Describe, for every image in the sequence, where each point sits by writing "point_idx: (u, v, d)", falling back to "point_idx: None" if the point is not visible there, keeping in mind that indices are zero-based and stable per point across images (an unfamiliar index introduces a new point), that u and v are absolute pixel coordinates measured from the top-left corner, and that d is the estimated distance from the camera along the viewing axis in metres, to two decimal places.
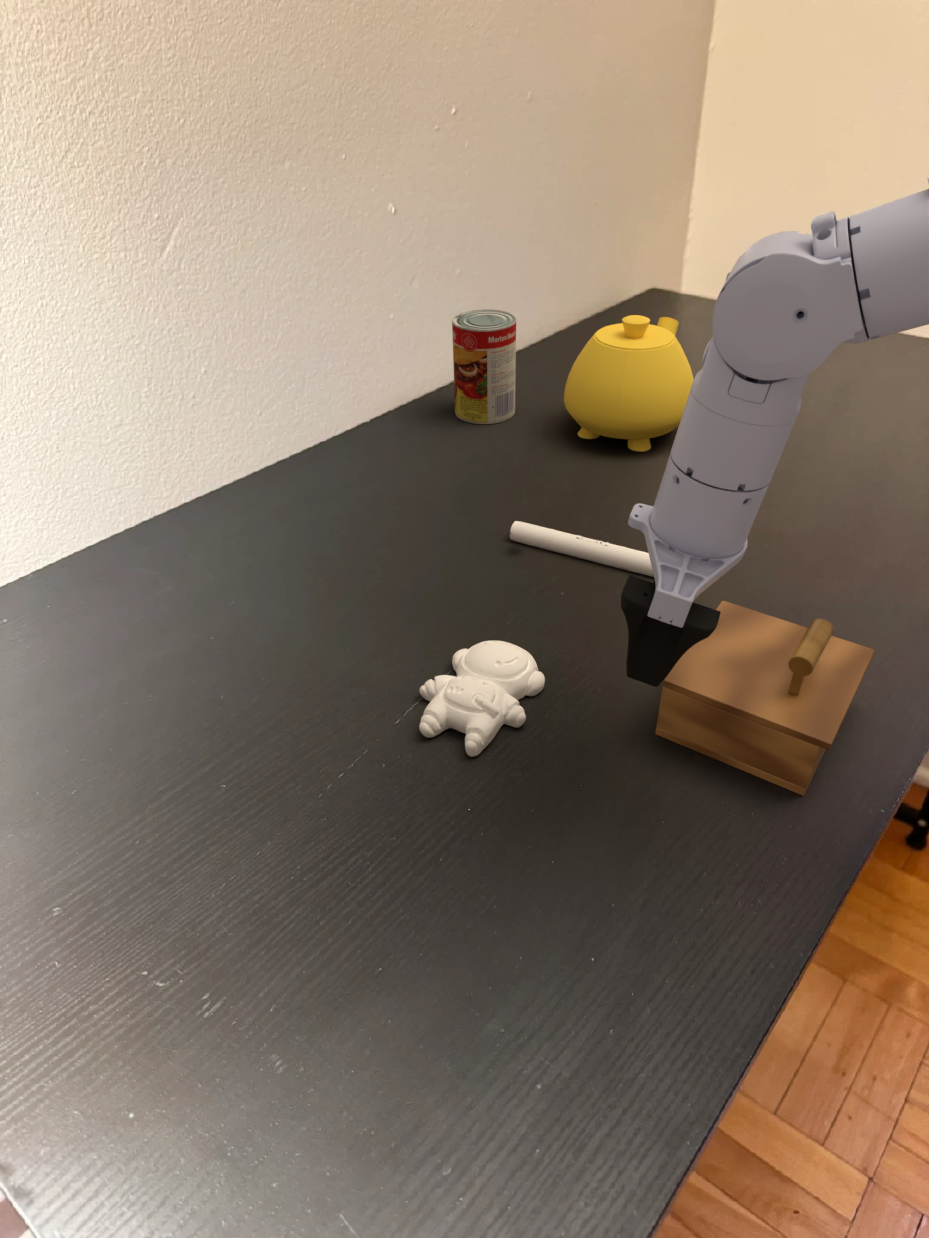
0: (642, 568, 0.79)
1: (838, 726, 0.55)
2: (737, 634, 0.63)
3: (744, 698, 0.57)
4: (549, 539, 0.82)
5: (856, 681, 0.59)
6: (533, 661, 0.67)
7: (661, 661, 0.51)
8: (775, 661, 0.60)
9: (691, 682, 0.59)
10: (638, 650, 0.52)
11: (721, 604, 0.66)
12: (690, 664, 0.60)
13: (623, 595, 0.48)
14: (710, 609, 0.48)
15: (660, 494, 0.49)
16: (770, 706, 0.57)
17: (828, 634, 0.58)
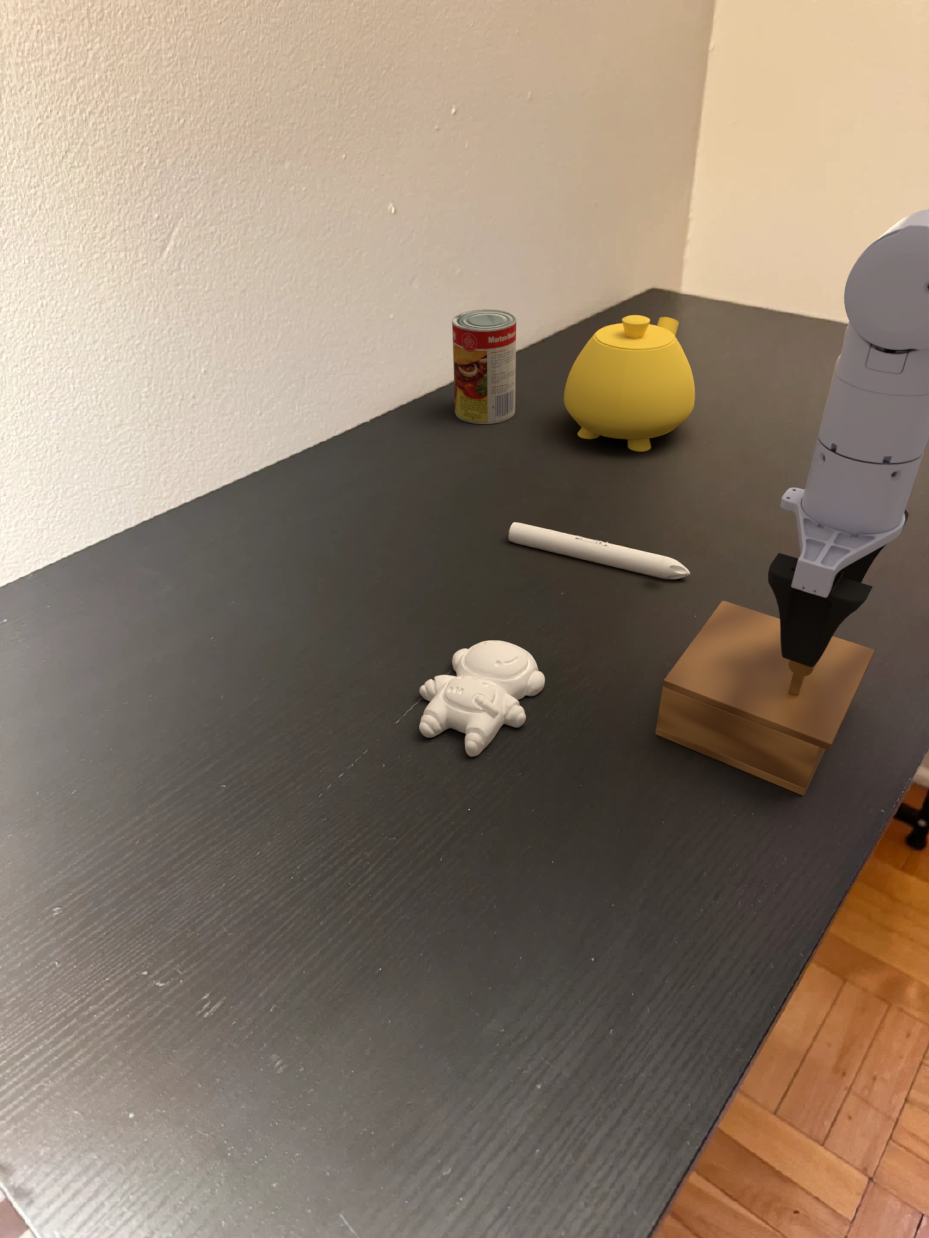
0: (642, 568, 0.79)
1: (838, 726, 0.55)
2: (737, 634, 0.63)
3: (744, 698, 0.57)
4: (548, 540, 0.82)
5: (856, 681, 0.59)
6: (533, 661, 0.67)
7: (815, 639, 0.52)
8: (775, 661, 0.60)
9: (691, 682, 0.59)
10: (791, 629, 0.53)
11: (721, 604, 0.66)
12: (690, 664, 0.60)
13: (770, 570, 0.50)
14: (861, 584, 0.49)
15: (809, 474, 0.50)
16: (770, 706, 0.57)
17: None
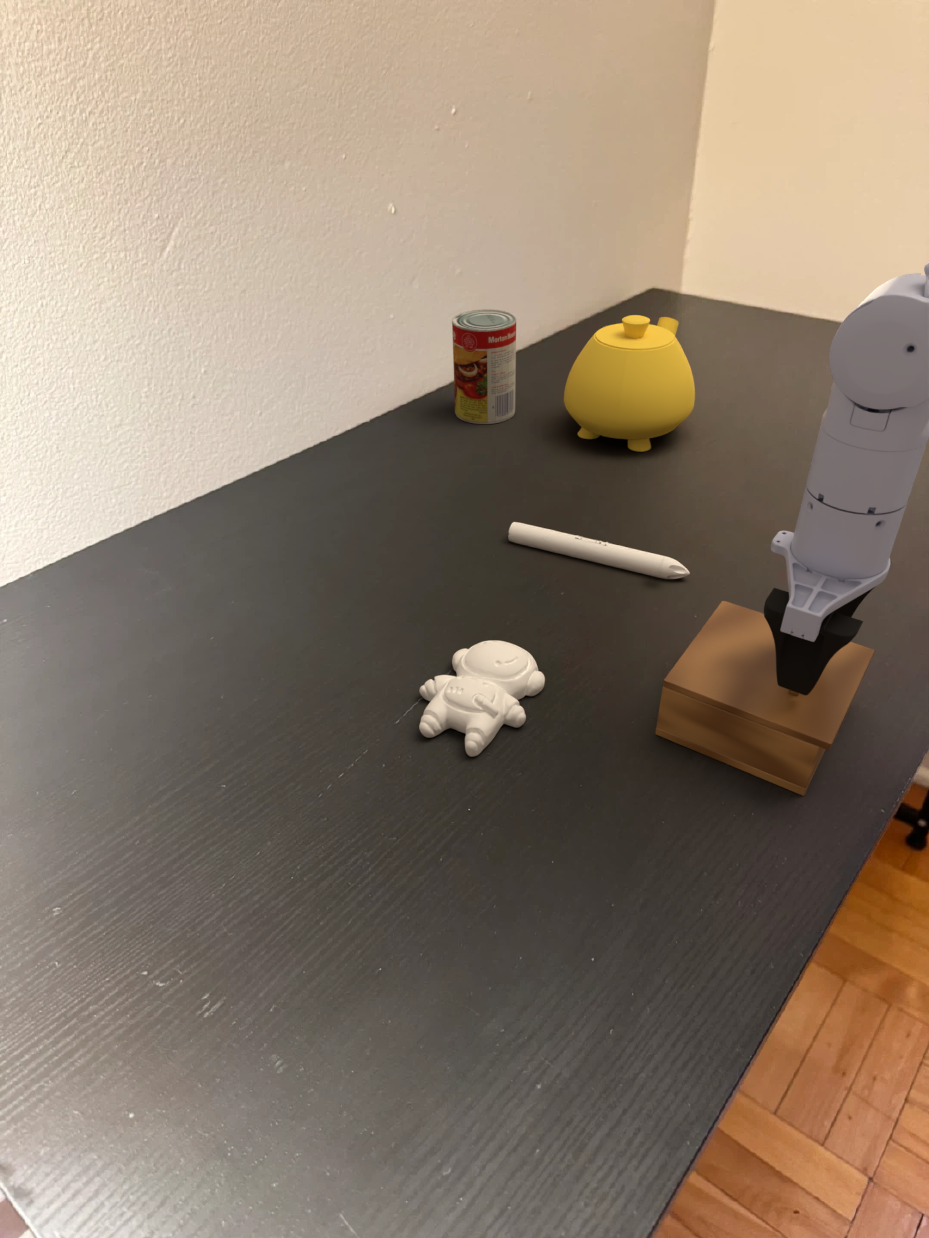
0: (642, 567, 0.79)
1: (838, 726, 0.55)
2: (737, 634, 0.63)
3: (744, 698, 0.57)
4: (548, 540, 0.82)
5: (856, 681, 0.59)
6: (533, 661, 0.67)
7: (809, 670, 0.55)
8: (775, 661, 0.60)
9: (691, 682, 0.59)
10: (786, 659, 0.55)
11: (721, 604, 0.66)
12: (690, 664, 0.60)
13: (765, 605, 0.53)
14: (852, 618, 0.51)
15: (798, 520, 0.52)
16: (770, 706, 0.57)
17: None
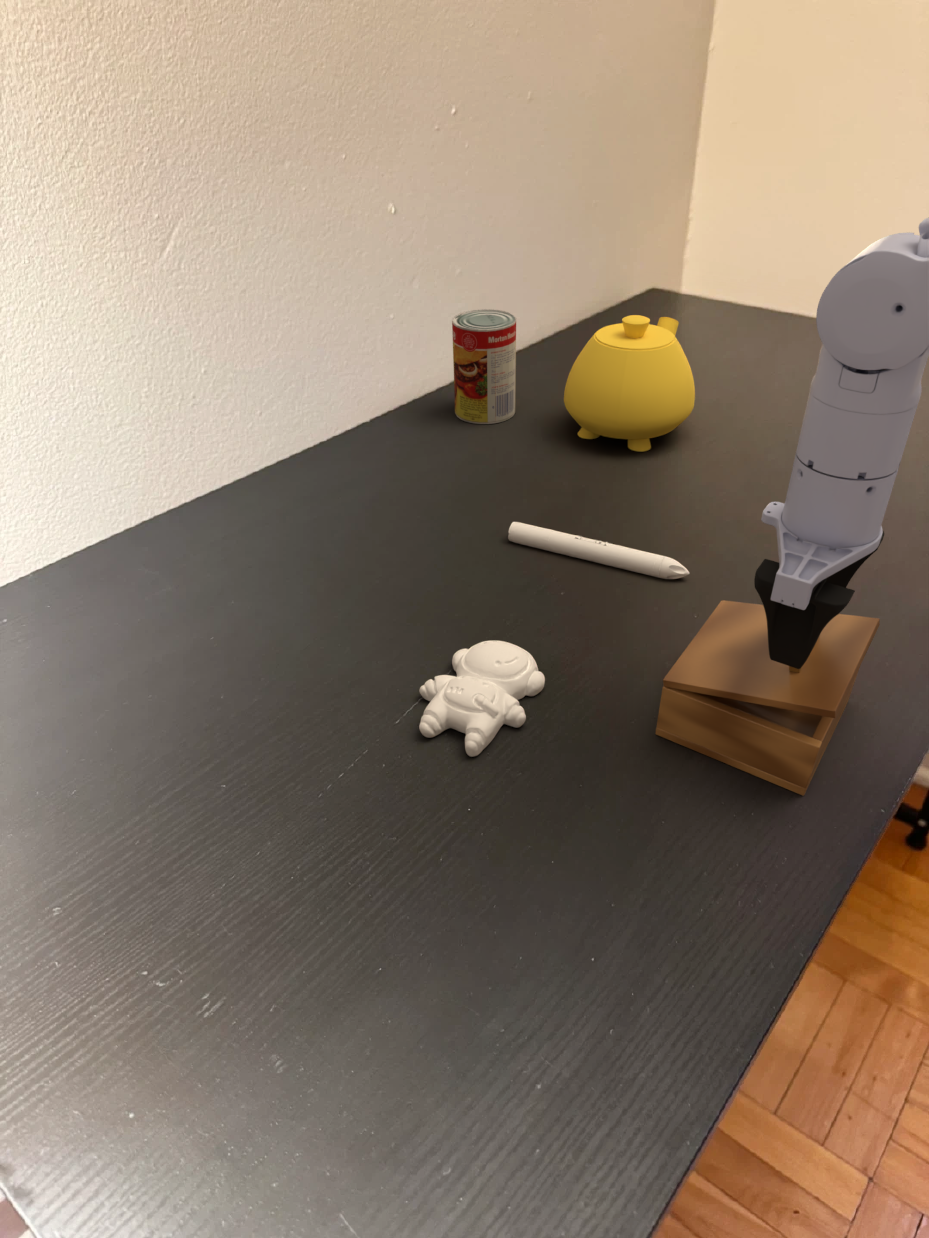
0: (642, 567, 0.79)
1: (842, 693, 0.54)
2: (736, 627, 0.63)
3: (745, 682, 0.57)
4: (548, 539, 0.82)
5: (860, 650, 0.57)
6: (533, 661, 0.67)
7: (801, 642, 0.54)
8: None
9: (690, 677, 0.59)
10: (778, 632, 0.55)
11: (720, 603, 0.66)
12: (689, 661, 0.60)
13: (756, 575, 0.52)
14: (844, 588, 0.51)
15: (788, 489, 0.52)
16: (771, 686, 0.56)
17: None
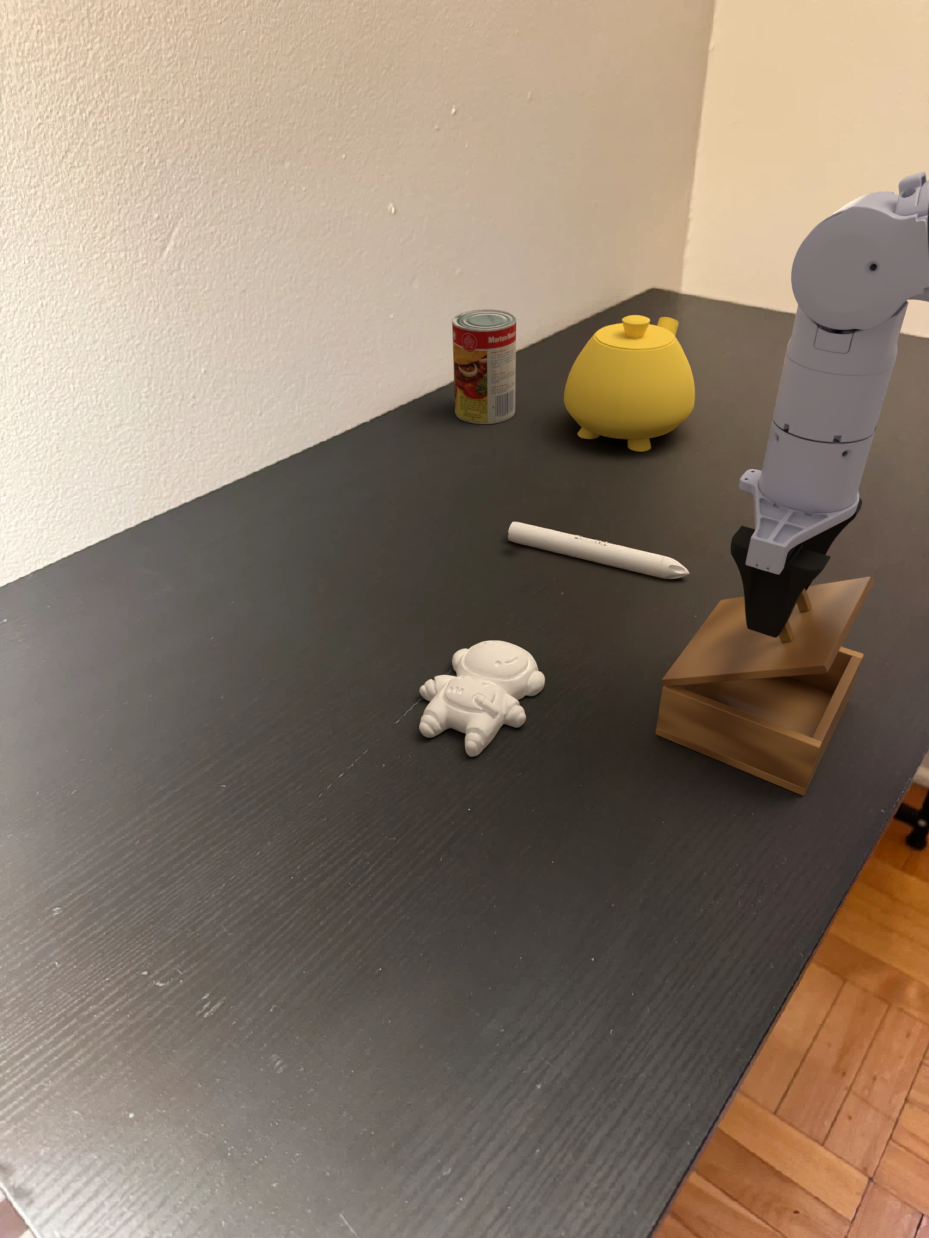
0: (642, 567, 0.79)
1: (832, 648, 0.52)
2: (733, 619, 0.63)
3: (738, 662, 0.56)
4: (548, 539, 0.82)
5: (851, 607, 0.56)
6: (533, 661, 0.67)
7: (777, 610, 0.54)
8: None
9: (687, 671, 0.59)
10: (754, 600, 0.54)
11: (719, 603, 0.66)
12: (687, 658, 0.60)
13: (732, 541, 0.52)
14: (819, 554, 0.50)
15: (765, 455, 0.51)
16: (763, 659, 0.55)
17: None
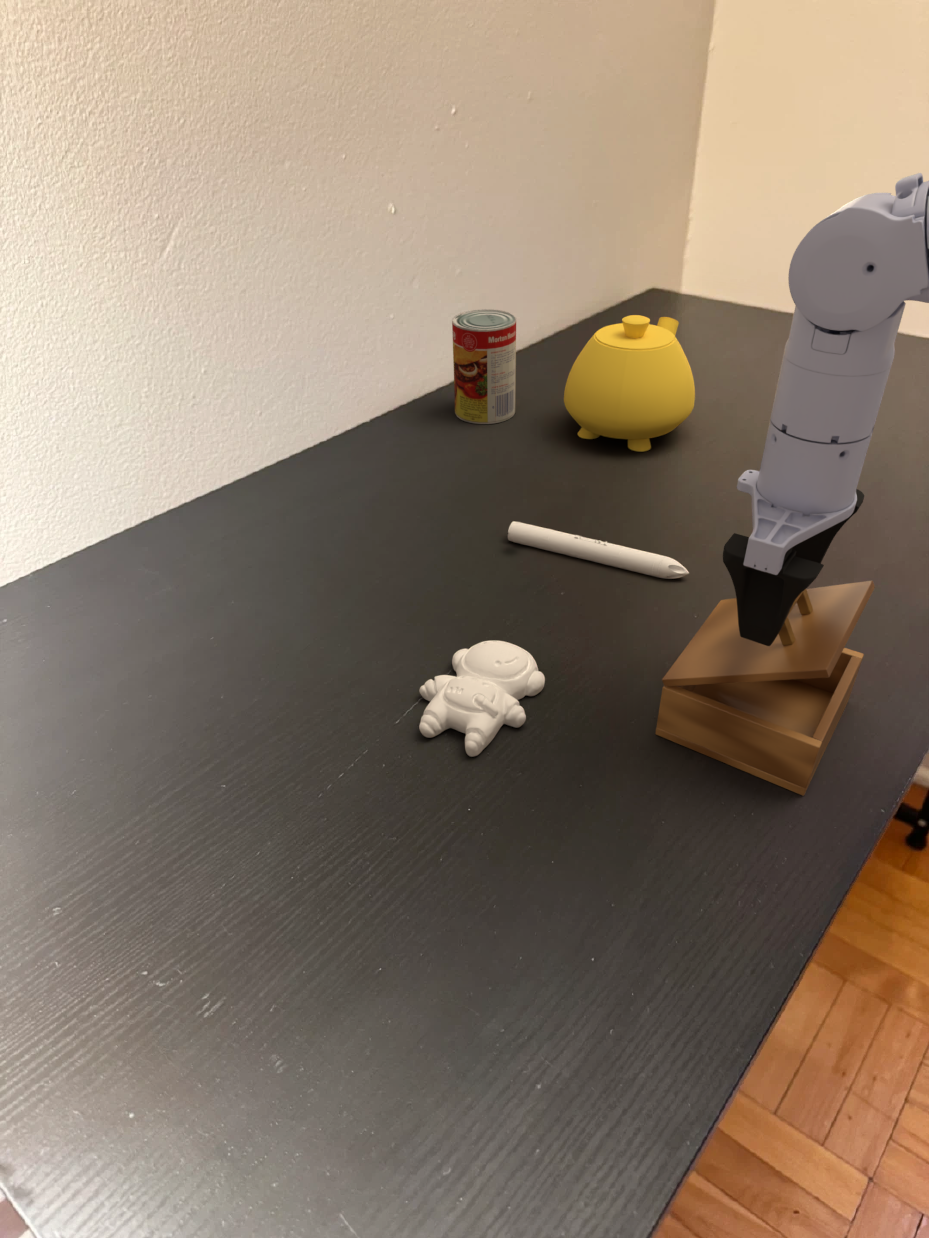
0: (641, 567, 0.79)
1: (834, 653, 0.53)
2: (733, 620, 0.63)
3: (739, 664, 0.56)
4: (547, 539, 0.82)
5: (853, 611, 0.56)
6: (533, 661, 0.67)
7: (770, 618, 0.53)
8: None
9: (687, 672, 0.59)
10: (747, 608, 0.54)
11: (719, 603, 0.66)
12: (687, 658, 0.60)
13: (724, 549, 0.51)
14: (812, 562, 0.50)
15: (763, 455, 0.51)
16: (765, 662, 0.55)
17: None
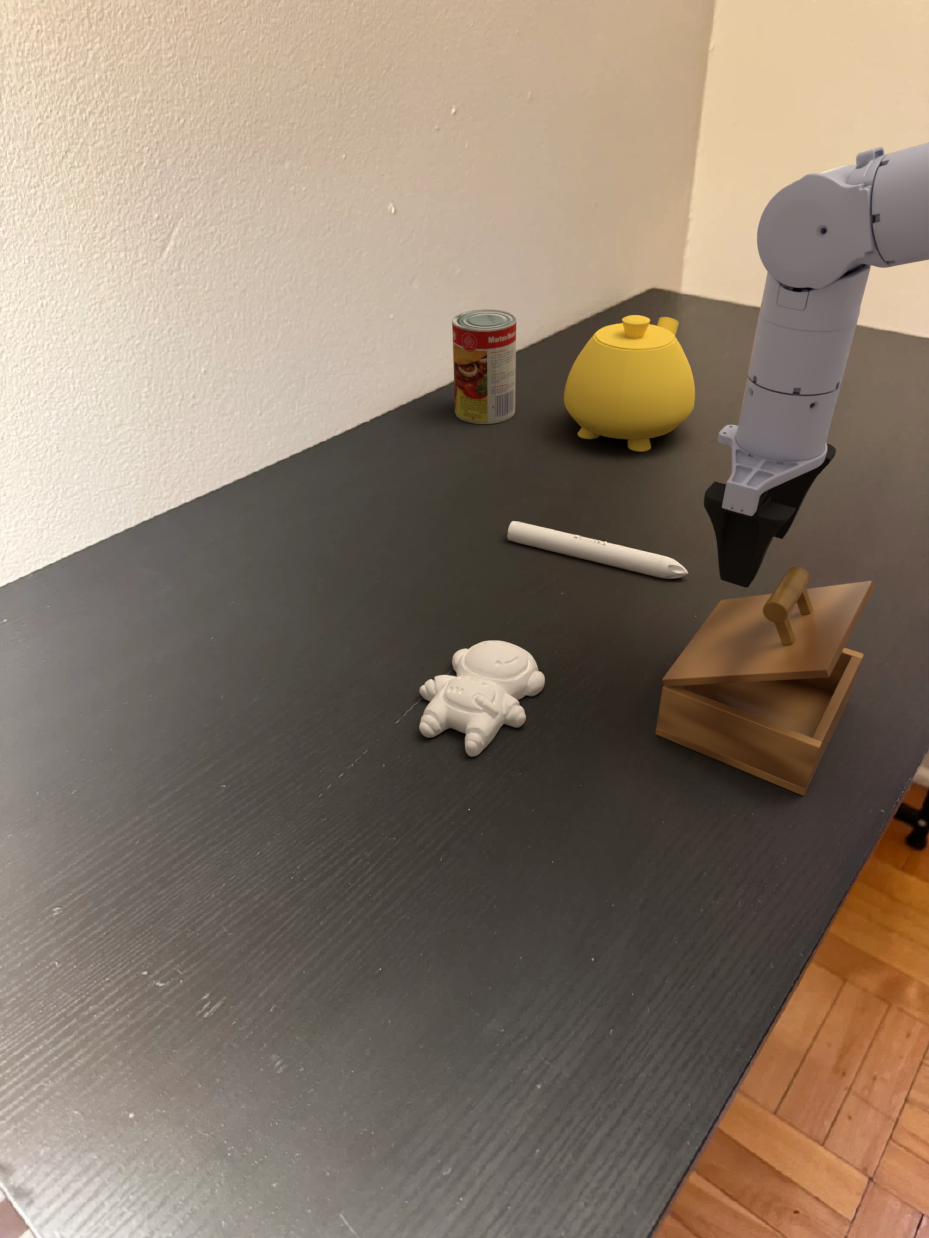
0: (641, 567, 0.79)
1: (834, 653, 0.53)
2: (733, 620, 0.63)
3: (739, 664, 0.56)
4: (547, 539, 0.82)
5: (853, 611, 0.56)
6: (533, 661, 0.67)
7: (748, 561, 0.58)
8: (770, 626, 0.59)
9: (687, 672, 0.59)
10: (727, 552, 0.58)
11: (719, 603, 0.66)
12: (687, 658, 0.60)
13: (705, 495, 0.56)
14: (785, 506, 0.54)
15: (741, 409, 0.56)
16: (765, 662, 0.55)
17: (800, 577, 0.57)
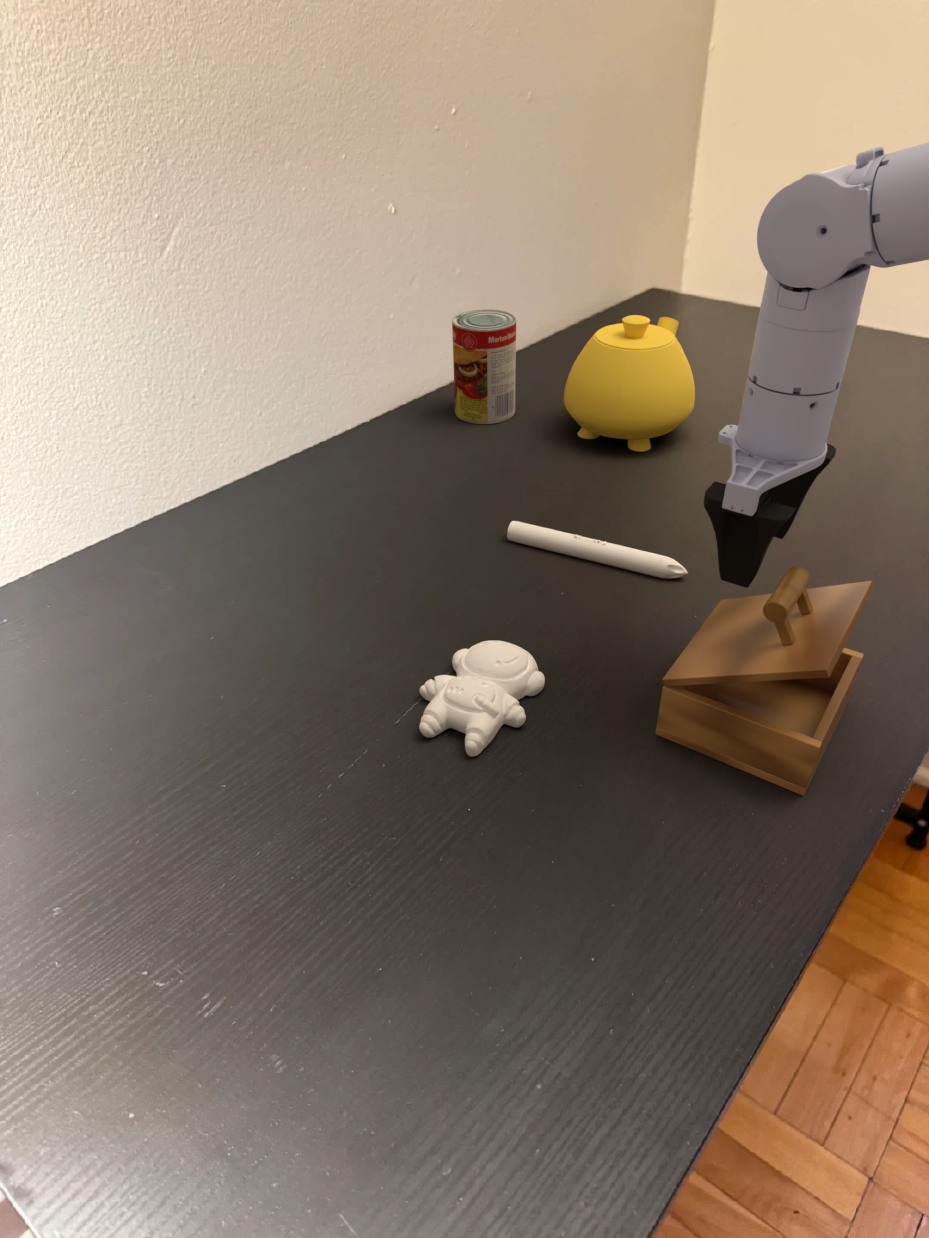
0: (640, 567, 0.79)
1: (834, 653, 0.53)
2: (733, 620, 0.63)
3: (739, 664, 0.56)
4: (547, 538, 0.82)
5: (853, 611, 0.56)
6: (533, 661, 0.67)
7: (748, 561, 0.58)
8: (770, 626, 0.59)
9: (687, 672, 0.59)
10: (727, 552, 0.58)
11: (719, 603, 0.66)
12: (687, 658, 0.60)
13: (705, 495, 0.56)
14: (785, 506, 0.54)
15: (741, 409, 0.56)
16: (765, 662, 0.55)
17: (800, 577, 0.57)
